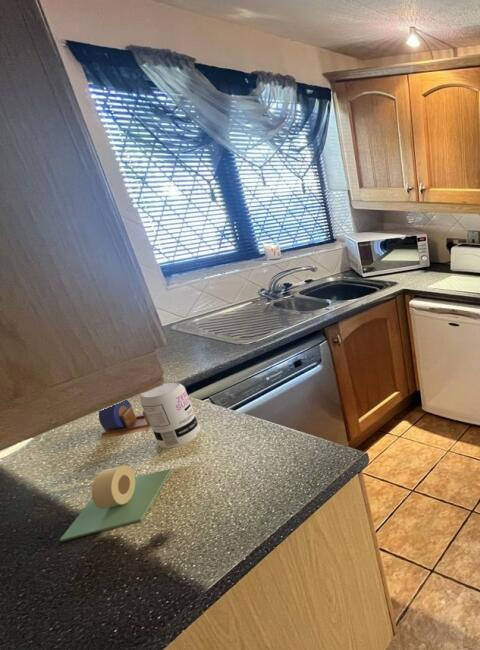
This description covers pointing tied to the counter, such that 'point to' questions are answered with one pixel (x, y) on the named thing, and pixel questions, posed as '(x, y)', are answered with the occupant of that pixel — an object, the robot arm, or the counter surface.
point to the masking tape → (113, 487)
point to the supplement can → (170, 414)
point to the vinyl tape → (114, 416)
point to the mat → (118, 508)
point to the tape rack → (129, 424)
